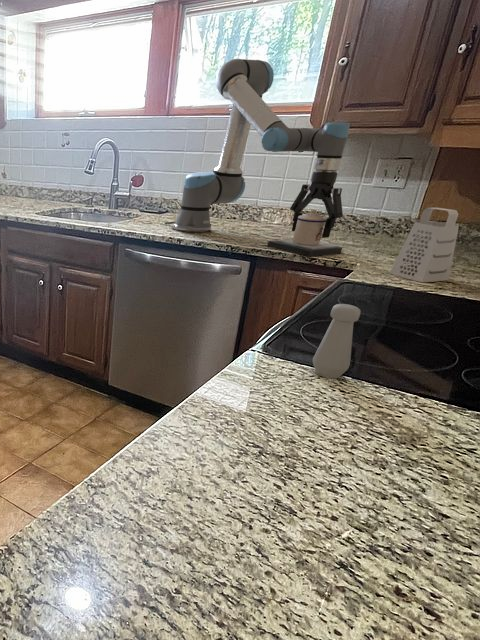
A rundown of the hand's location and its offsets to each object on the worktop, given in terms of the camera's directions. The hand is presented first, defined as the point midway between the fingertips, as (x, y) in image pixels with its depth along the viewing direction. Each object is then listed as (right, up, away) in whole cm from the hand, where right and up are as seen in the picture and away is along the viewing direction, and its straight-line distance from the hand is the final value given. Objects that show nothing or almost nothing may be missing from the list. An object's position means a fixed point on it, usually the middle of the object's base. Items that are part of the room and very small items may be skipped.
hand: (309, 234), depth 190 cm
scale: (-1, -5, +2) cm, 6 cm away
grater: (+15, -21, -31) cm, 40 cm away
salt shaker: (-53, -48, -95) cm, 119 cm away
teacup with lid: (0, -3, +2) cm, 3 cm away
